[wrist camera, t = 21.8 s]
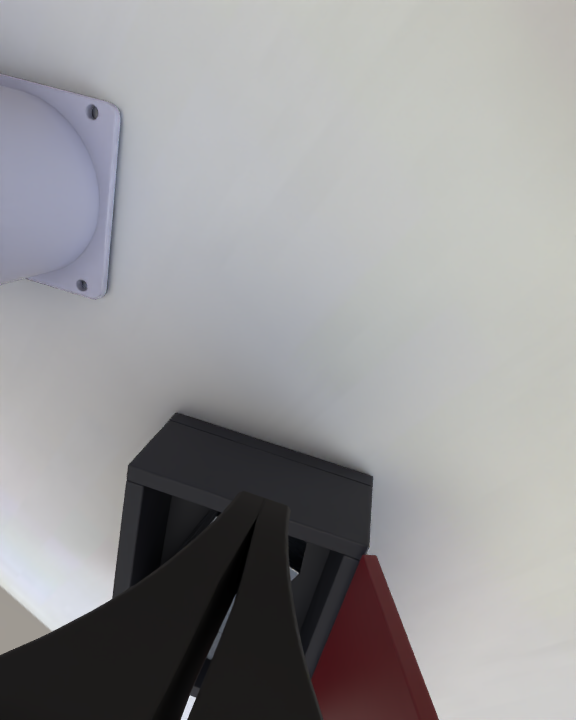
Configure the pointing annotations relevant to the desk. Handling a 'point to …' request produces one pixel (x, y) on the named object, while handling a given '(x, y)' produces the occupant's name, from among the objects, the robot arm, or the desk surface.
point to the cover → (370, 657)
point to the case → (218, 489)
